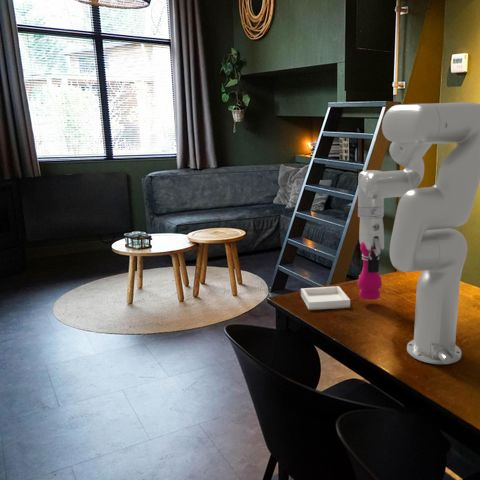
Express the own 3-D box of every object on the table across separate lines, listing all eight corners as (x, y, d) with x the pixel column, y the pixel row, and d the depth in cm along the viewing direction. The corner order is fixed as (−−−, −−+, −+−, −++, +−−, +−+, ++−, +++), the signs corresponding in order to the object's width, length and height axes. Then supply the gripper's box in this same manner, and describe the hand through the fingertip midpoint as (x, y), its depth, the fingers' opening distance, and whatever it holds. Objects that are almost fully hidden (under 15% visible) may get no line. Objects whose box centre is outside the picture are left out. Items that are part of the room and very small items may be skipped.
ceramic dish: (350, 307, 152) (350, 299, 152) (308, 310, 152) (308, 302, 151) (338, 293, 165) (339, 286, 164) (300, 295, 164) (300, 288, 164)
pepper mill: (379, 292, 157) (380, 231, 153) (383, 300, 150) (384, 236, 146) (356, 292, 158) (356, 232, 153) (359, 300, 151) (359, 236, 146)
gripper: (393, 215, 140) (392, 276, 144) (373, 206, 157) (372, 261, 160) (367, 216, 139) (367, 278, 143) (350, 208, 156) (350, 263, 160)
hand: (369, 268), depth 152 cm, fingers closed on pepper mill, 5 cm apart
